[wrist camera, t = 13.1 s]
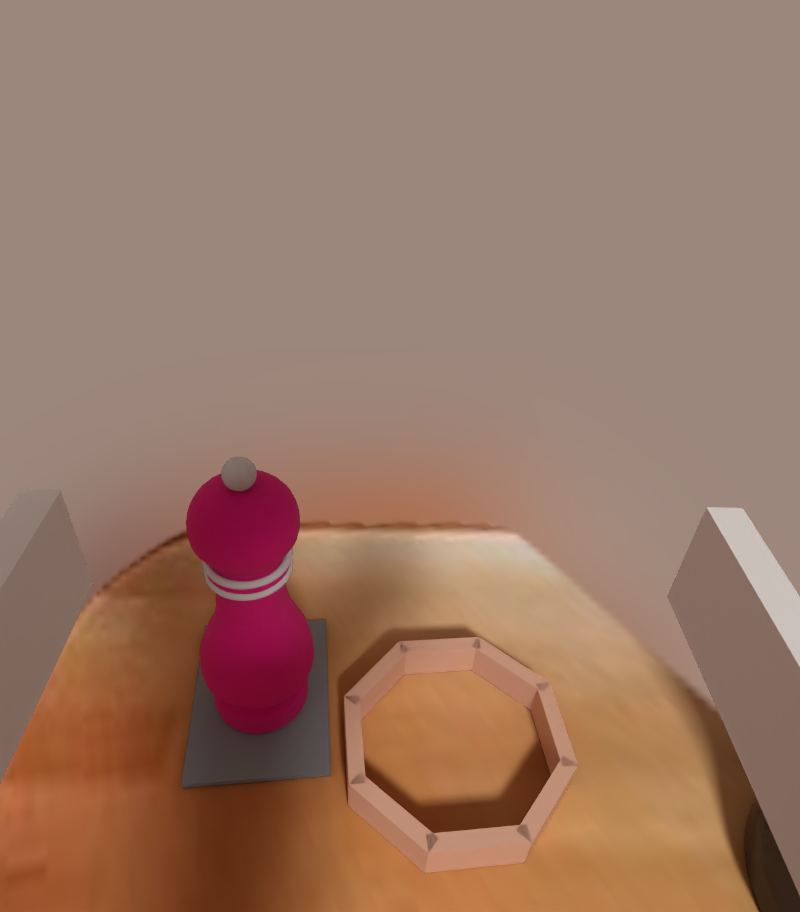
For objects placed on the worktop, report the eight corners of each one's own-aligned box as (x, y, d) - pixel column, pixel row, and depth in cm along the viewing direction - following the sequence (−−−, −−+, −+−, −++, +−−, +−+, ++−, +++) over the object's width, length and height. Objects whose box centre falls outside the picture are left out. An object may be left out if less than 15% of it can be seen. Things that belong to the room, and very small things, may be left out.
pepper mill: (293, 754, 42) (278, 520, 30) (188, 726, 43) (133, 489, 31) (329, 662, 47) (328, 434, 36) (235, 639, 49) (204, 410, 37)
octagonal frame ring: (527, 655, 50) (533, 633, 48) (591, 855, 38) (602, 836, 37) (340, 666, 48) (341, 644, 46) (351, 880, 37) (352, 860, 35)
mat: (325, 622, 51) (325, 619, 51) (330, 775, 41) (330, 772, 41) (205, 629, 50) (204, 625, 49) (182, 787, 40) (181, 784, 40)
